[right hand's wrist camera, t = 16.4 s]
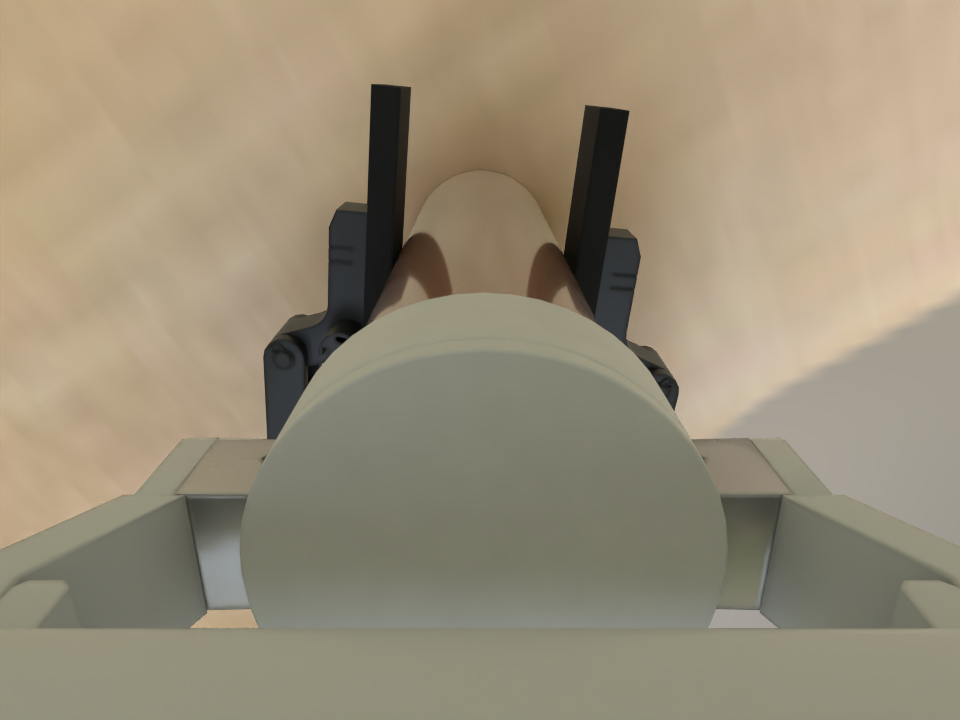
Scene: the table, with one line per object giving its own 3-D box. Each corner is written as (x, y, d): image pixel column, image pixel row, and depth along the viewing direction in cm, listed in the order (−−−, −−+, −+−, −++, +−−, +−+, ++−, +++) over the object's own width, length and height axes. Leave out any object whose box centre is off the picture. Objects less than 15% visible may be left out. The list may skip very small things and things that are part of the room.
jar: (458, 321, 28) (419, 749, 10) (390, 213, 27) (196, 490, 8) (568, 260, 27) (748, 610, 9) (505, 144, 26) (570, 286, 7)
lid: (420, 679, 12) (408, 804, 10) (206, 414, 10) (134, 501, 8) (739, 537, 11) (801, 644, 9) (566, 209, 9) (592, 247, 7)
